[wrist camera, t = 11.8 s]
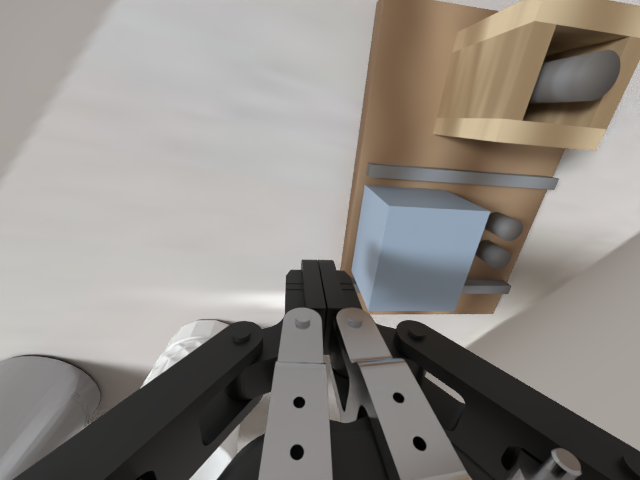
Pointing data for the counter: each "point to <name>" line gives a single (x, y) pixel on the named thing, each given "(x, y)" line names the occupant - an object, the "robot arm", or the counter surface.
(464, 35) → the collar
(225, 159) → the counter surface
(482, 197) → the jig board
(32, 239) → the counter surface
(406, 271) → the block
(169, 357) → the white cup
